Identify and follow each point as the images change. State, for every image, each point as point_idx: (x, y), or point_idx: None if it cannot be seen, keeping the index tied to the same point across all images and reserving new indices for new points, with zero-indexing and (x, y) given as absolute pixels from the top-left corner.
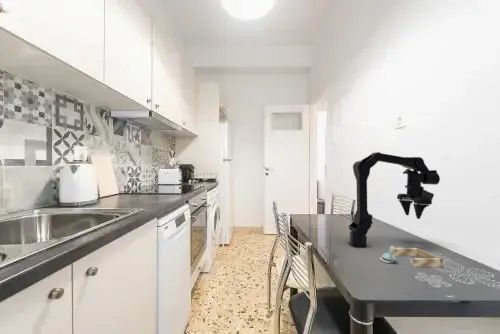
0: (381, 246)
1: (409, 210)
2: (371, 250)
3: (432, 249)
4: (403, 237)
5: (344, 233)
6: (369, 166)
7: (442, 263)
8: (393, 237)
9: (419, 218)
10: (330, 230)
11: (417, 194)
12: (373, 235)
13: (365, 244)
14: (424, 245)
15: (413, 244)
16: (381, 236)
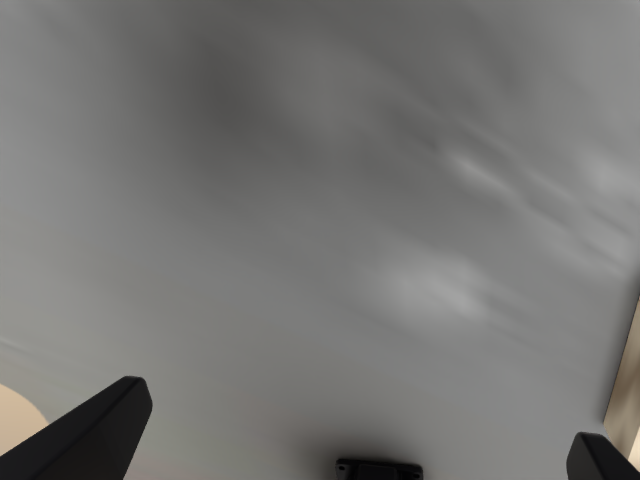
0: (391, 388)
1: (58, 461)
2: (484, 472)
3: (483, 4)
4: (43, 72)
5: None
6: None
7: None
8: (87, 175)
9: (605, 447)
10: None
11: None
12: (87, 300)
13: (396, 474)
14: (323, 6)
15: (300, 116)
16: (94, 258)
